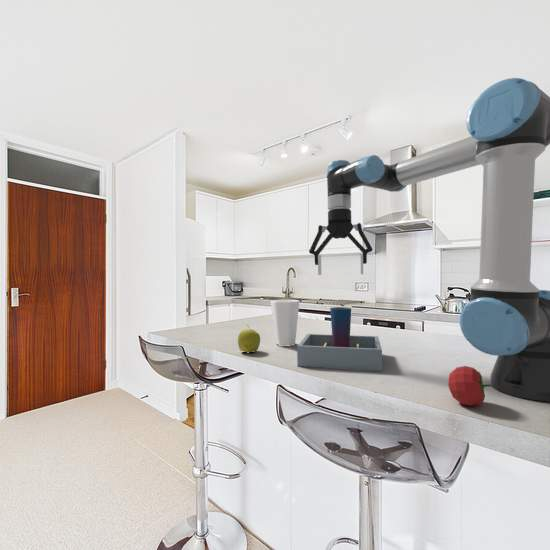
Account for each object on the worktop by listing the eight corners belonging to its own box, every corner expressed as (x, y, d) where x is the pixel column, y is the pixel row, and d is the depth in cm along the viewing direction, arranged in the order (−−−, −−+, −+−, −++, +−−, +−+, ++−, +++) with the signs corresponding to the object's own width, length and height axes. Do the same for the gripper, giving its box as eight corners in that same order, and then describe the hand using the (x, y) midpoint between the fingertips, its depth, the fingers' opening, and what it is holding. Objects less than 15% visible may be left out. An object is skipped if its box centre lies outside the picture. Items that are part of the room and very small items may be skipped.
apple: (233, 352, 112) (236, 323, 115) (240, 353, 119) (243, 326, 122) (255, 353, 110) (257, 323, 113) (261, 354, 117) (263, 327, 120)
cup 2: (352, 356, 104) (351, 309, 104) (330, 355, 105) (329, 309, 105) (351, 351, 111) (350, 307, 111) (331, 350, 112) (330, 307, 112)
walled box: (382, 371, 92) (381, 349, 91) (297, 366, 98) (297, 346, 98) (378, 354, 111) (378, 336, 111) (307, 350, 117) (307, 333, 117)
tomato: (443, 360, 70) (484, 358, 66) (452, 375, 75) (492, 375, 70) (445, 396, 66) (489, 398, 61) (455, 411, 70) (497, 413, 66)
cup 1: (303, 346, 124) (303, 301, 124) (278, 349, 120) (278, 302, 120) (291, 340, 134) (290, 299, 134) (268, 343, 131) (267, 300, 130)
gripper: (378, 209, 108) (379, 273, 108) (303, 214, 114) (304, 275, 114) (379, 204, 101) (381, 273, 101) (299, 210, 107) (301, 275, 107)
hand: (340, 274), depth 108 cm, fingers open, 13 cm apart
